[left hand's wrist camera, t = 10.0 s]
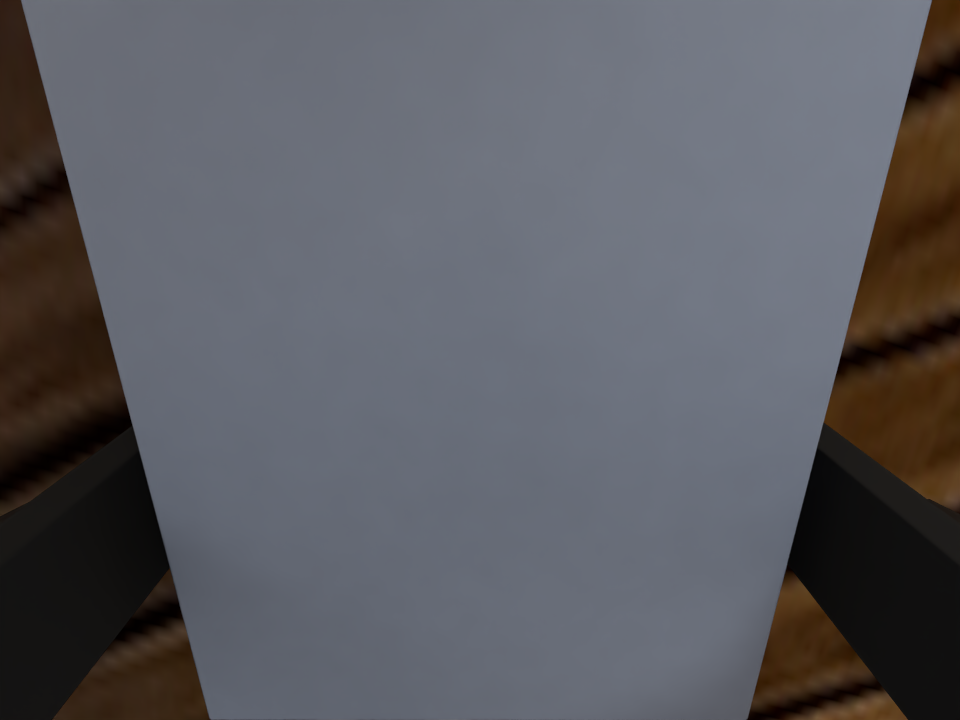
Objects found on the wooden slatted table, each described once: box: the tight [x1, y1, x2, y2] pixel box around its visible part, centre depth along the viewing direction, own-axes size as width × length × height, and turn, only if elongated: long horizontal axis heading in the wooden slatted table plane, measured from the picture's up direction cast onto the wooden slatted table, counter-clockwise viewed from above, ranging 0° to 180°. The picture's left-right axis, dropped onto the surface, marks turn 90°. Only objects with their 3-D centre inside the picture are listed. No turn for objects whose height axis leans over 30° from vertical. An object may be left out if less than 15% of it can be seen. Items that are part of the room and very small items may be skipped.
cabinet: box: [21, 0, 932, 720], centre depth 12 cm, size 17×10×11 cm, turn 0°
